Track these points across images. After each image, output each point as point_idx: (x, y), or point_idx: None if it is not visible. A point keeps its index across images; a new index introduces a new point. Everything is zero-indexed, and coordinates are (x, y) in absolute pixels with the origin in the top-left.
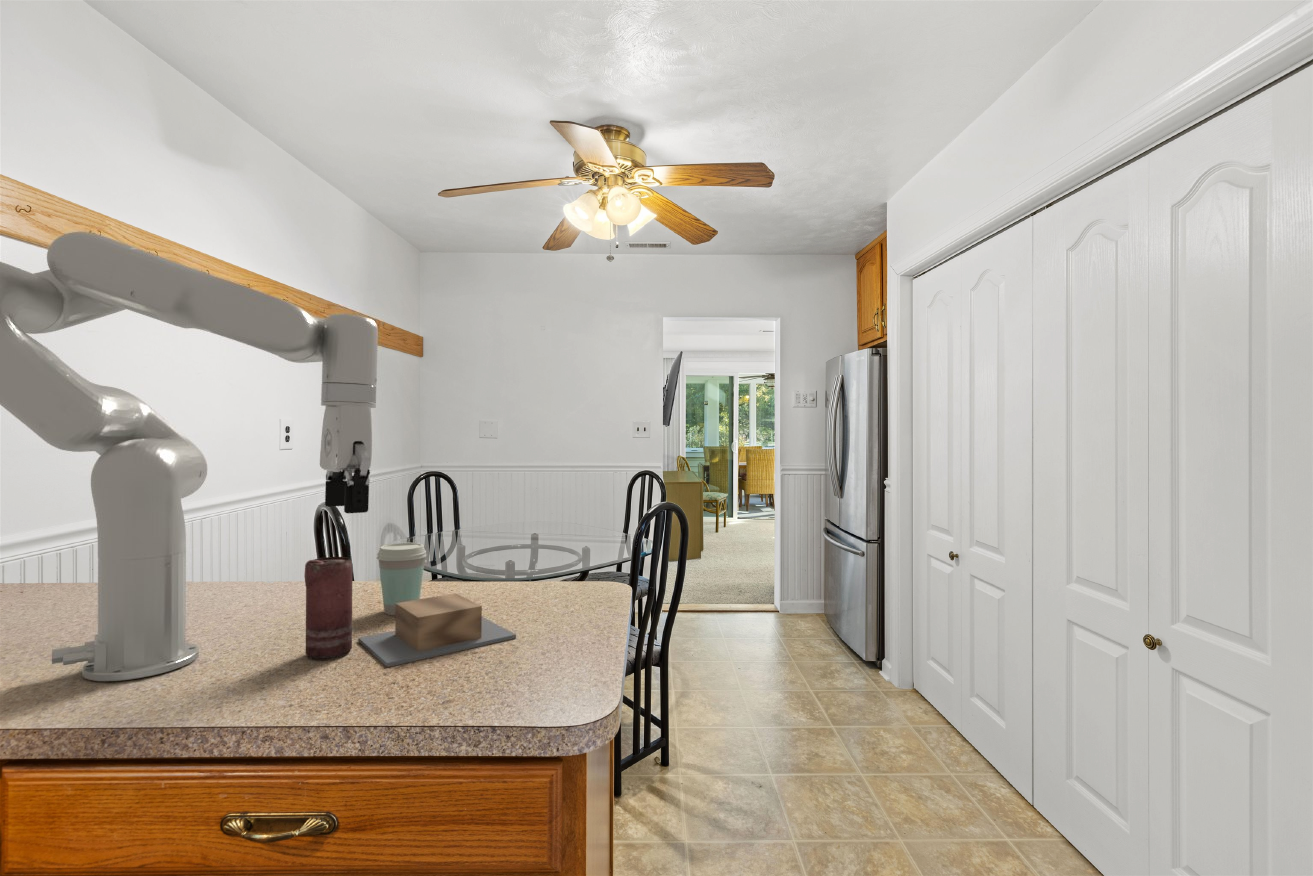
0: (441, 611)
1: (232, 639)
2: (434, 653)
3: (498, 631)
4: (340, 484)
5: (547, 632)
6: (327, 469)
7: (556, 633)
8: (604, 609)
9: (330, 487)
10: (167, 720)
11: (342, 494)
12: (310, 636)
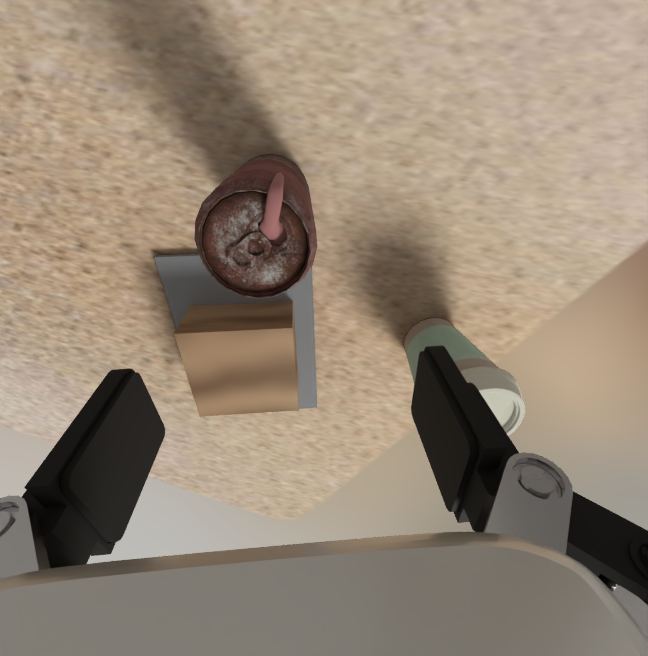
0: (196, 369)
1: (493, 35)
2: (174, 321)
3: None
4: (449, 478)
5: (208, 440)
6: (279, 553)
7: (199, 445)
8: (261, 502)
9: (452, 429)
10: None
11: (427, 436)
12: (248, 162)
